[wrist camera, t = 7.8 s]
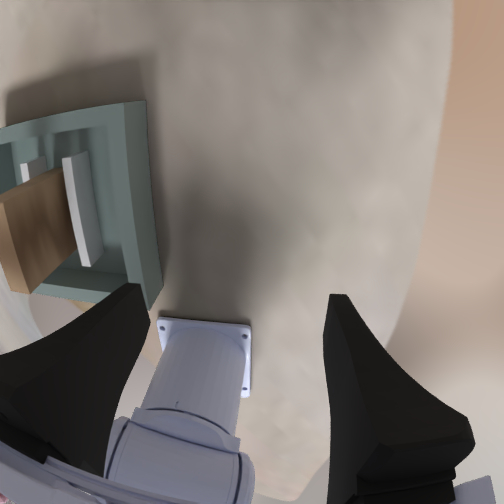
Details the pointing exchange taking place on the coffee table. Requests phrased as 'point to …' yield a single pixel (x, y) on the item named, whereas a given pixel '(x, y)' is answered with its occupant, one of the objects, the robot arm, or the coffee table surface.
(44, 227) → the wood block
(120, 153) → the slotted divider tray
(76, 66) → the coffee table surface
